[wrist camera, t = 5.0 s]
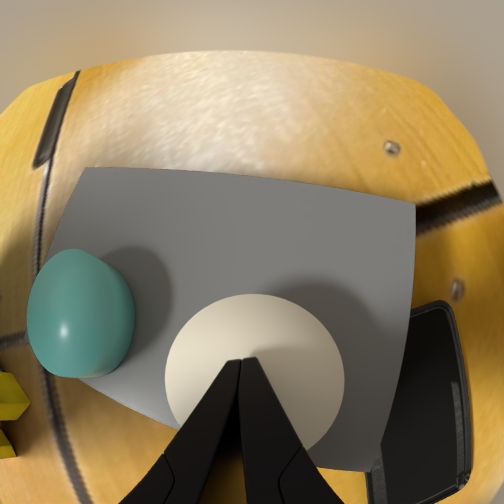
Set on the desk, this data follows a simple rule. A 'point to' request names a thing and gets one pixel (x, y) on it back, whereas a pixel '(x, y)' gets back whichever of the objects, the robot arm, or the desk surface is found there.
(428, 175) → the desk surface
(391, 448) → the phone
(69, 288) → the teal button
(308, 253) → the button box
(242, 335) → the cream button
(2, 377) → the decorative book
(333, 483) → the desk surface
